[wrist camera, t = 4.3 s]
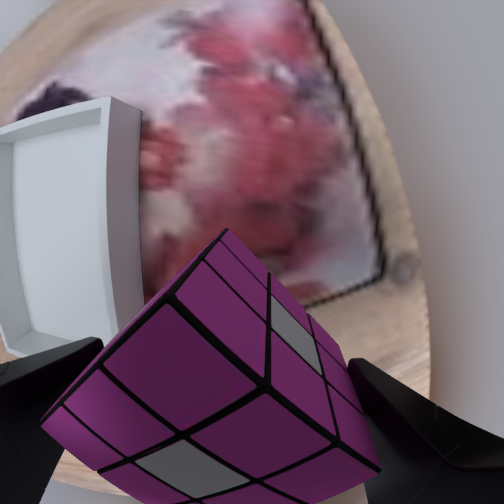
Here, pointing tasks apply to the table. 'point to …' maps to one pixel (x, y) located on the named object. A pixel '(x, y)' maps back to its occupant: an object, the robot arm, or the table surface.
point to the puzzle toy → (219, 395)
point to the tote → (69, 225)
